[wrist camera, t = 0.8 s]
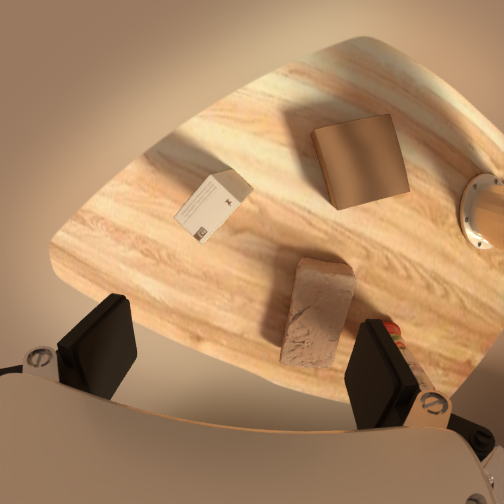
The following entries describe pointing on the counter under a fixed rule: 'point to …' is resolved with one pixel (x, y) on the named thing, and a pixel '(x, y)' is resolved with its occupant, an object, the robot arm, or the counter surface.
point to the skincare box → (213, 203)
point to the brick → (317, 313)
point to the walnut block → (361, 161)
